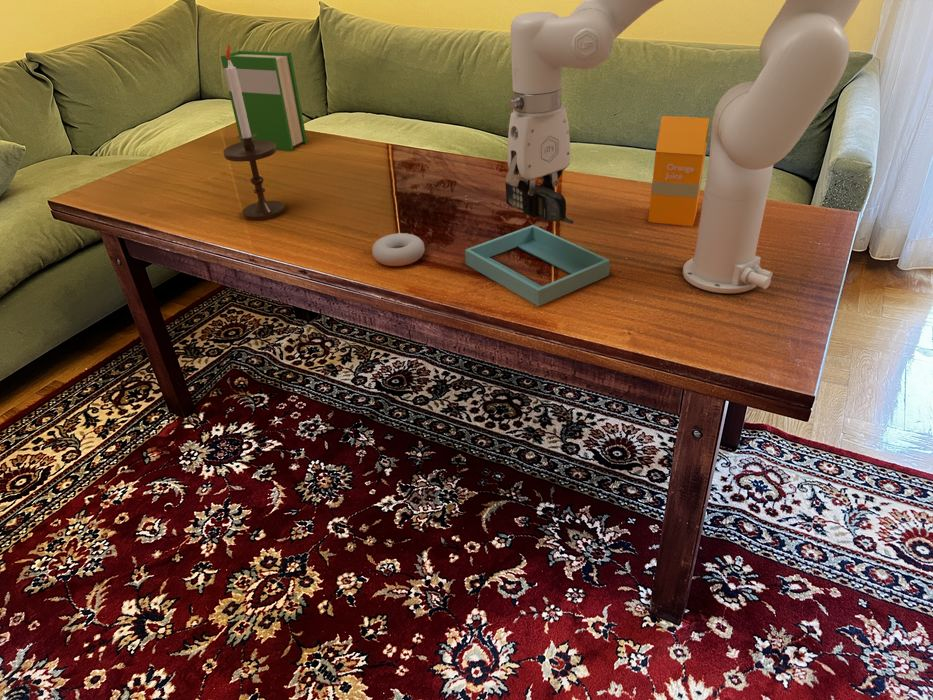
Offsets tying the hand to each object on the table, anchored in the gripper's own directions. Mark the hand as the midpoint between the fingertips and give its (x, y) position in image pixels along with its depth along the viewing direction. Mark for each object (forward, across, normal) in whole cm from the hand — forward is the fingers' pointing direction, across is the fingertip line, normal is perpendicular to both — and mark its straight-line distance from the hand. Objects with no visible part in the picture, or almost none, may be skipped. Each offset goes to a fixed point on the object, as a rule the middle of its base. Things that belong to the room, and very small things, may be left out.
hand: (538, 210), depth 116 cm
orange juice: (+12, +35, -1) cm, 37 cm away
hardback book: (+9, -5, +108) cm, 109 cm away
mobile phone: (+1, 0, 0) cm, 1 cm away
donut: (+11, -17, +22) cm, 29 cm away
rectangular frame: (+11, -1, 0) cm, 11 cm away
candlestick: (+10, -28, +62) cm, 68 cm away
